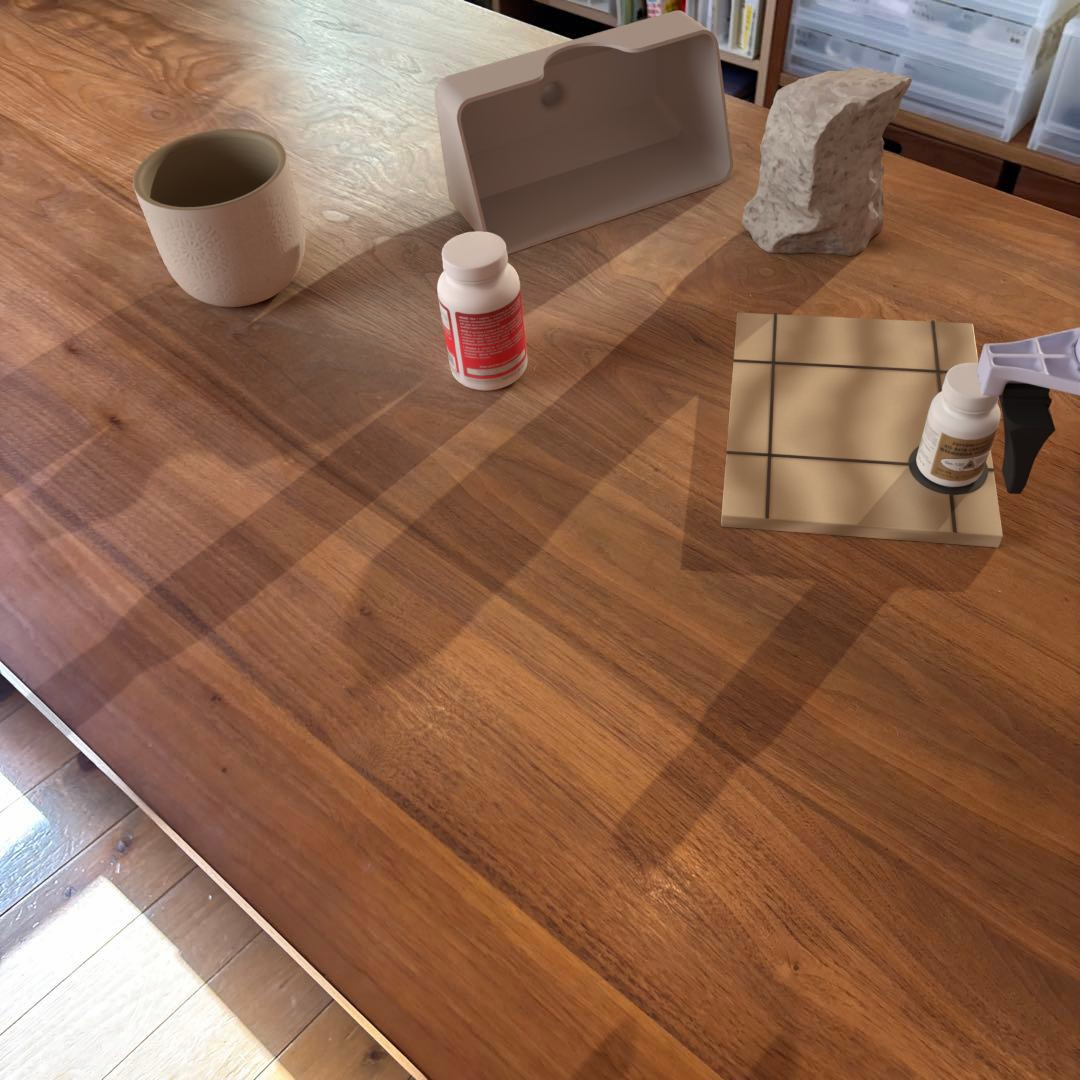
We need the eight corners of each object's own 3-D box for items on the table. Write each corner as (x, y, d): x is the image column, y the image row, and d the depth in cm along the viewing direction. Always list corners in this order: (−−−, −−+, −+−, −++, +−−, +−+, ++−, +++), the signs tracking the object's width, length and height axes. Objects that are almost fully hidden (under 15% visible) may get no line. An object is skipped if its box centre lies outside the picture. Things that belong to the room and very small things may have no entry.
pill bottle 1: (544, 362, 88) (534, 243, 80) (491, 404, 85) (476, 285, 77) (486, 333, 91) (471, 214, 82) (434, 372, 88) (413, 254, 80)
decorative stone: (824, 191, 101) (846, 31, 90) (896, 237, 96) (928, 72, 85) (734, 230, 98) (746, 69, 87) (803, 280, 93) (824, 115, 82)
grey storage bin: (650, 106, 113) (651, -21, 104) (734, 178, 103) (744, 45, 94) (424, 176, 107) (403, 48, 98) (490, 260, 97) (474, 126, 88)
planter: (174, 334, 93) (129, 221, 85) (175, 252, 102) (135, 141, 93) (320, 308, 94) (290, 194, 86) (310, 228, 103) (282, 117, 94)
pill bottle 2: (935, 496, 74) (960, 409, 68) (904, 452, 77) (925, 366, 71) (995, 480, 75) (1025, 393, 69) (961, 437, 77) (988, 350, 72)
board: (969, 335, 87) (973, 322, 86) (998, 548, 72) (1003, 535, 71) (736, 324, 89) (737, 311, 88) (720, 527, 75) (721, 514, 74)
